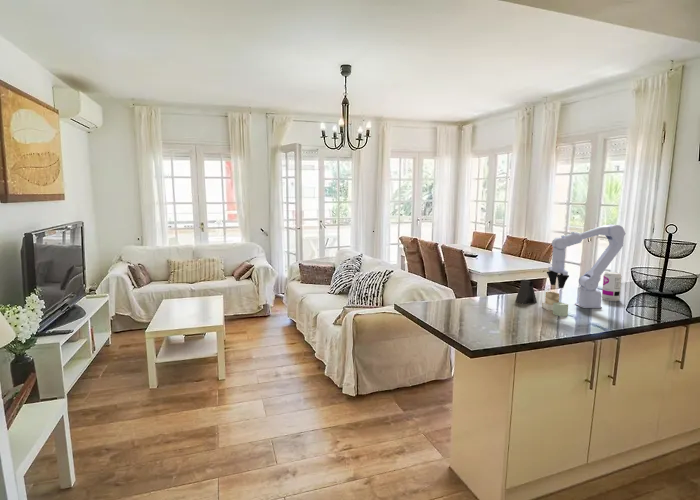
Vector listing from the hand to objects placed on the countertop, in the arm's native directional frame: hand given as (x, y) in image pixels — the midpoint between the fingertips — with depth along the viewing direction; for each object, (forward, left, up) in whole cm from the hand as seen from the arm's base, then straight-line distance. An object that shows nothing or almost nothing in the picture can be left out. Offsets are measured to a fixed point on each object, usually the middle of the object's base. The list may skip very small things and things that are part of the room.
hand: (556, 286), depth 204 cm
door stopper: (+13, -6, -10) cm, 18 cm away
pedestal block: (+6, +7, -10) cm, 14 cm away
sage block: (+8, +18, -10) cm, 22 cm away
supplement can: (-36, -9, -10) cm, 39 cm away
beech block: (+6, +7, -7) cm, 12 cm away
